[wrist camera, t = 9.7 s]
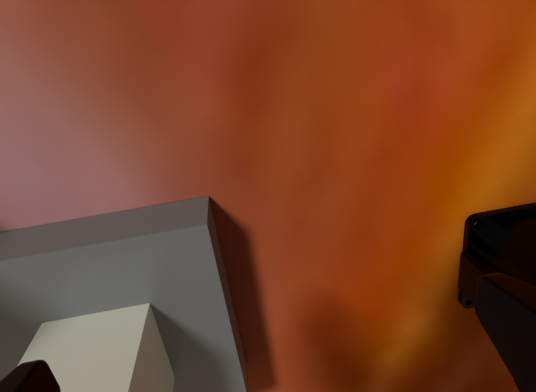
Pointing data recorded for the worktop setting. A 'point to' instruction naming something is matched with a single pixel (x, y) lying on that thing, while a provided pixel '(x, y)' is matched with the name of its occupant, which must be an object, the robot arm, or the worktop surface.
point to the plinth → (128, 286)
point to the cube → (105, 352)
